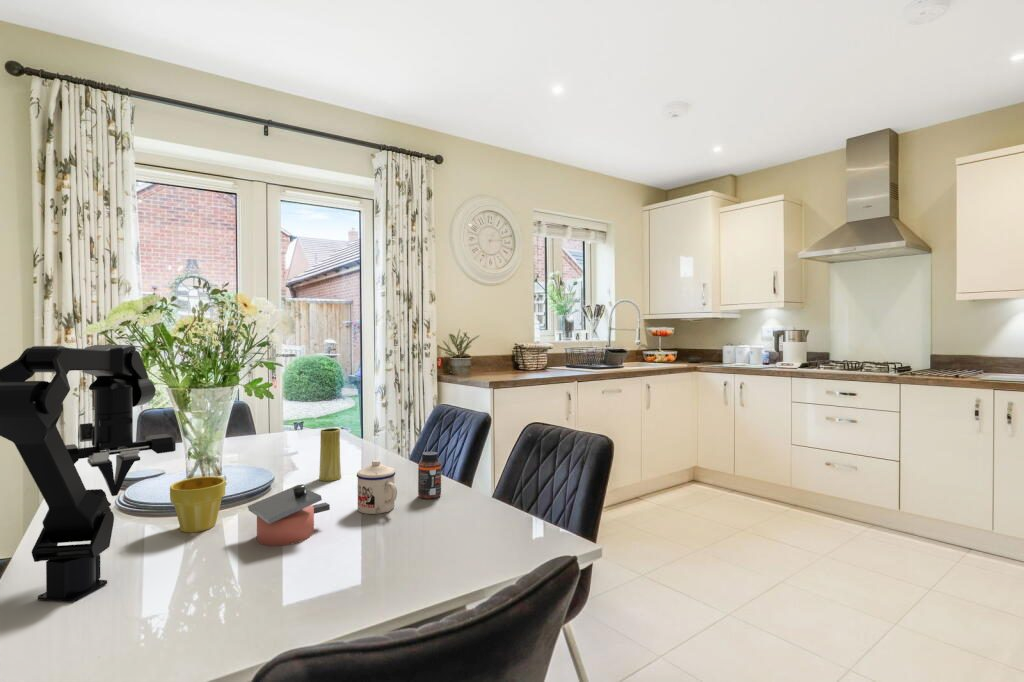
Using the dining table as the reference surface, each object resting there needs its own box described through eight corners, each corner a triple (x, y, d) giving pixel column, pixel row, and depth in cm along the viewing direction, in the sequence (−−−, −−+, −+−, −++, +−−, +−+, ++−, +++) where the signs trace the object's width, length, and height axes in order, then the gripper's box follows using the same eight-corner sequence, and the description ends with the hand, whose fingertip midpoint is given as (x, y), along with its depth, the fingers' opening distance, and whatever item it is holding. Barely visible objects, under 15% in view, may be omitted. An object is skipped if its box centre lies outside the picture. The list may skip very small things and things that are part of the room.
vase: (318, 477, 155) (318, 428, 155) (339, 474, 158) (340, 427, 157) (320, 482, 150) (320, 432, 149) (342, 480, 152) (342, 430, 152)
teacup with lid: (348, 509, 127) (348, 461, 127) (379, 500, 134) (380, 454, 134) (379, 520, 120) (379, 469, 119) (410, 510, 127) (411, 462, 127)
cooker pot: (269, 550, 103) (269, 525, 103) (248, 535, 111) (248, 511, 111) (339, 530, 114) (339, 507, 113) (316, 517, 121) (316, 496, 121)
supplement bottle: (439, 499, 135) (439, 455, 135) (416, 499, 135) (416, 455, 135) (442, 492, 141) (442, 450, 141) (420, 492, 141) (420, 450, 141)
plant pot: (200, 538, 109) (200, 491, 109) (158, 534, 111) (157, 487, 111) (236, 520, 119) (236, 477, 119) (196, 517, 121) (196, 474, 121)
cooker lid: (269, 524, 103) (266, 511, 103) (248, 510, 111) (245, 498, 110) (321, 500, 111) (319, 488, 110) (299, 488, 118) (296, 478, 118)
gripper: (162, 403, 110) (162, 477, 111) (43, 412, 97) (43, 496, 97) (176, 408, 103) (176, 488, 103) (48, 419, 89) (49, 511, 90)
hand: (114, 495), depth 98 cm, fingers closed
